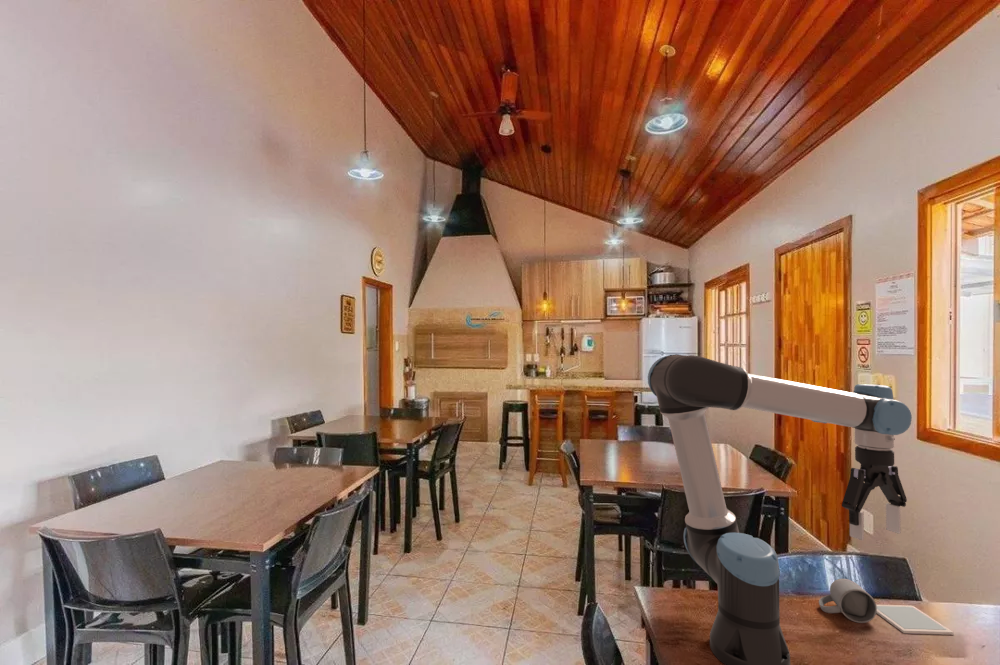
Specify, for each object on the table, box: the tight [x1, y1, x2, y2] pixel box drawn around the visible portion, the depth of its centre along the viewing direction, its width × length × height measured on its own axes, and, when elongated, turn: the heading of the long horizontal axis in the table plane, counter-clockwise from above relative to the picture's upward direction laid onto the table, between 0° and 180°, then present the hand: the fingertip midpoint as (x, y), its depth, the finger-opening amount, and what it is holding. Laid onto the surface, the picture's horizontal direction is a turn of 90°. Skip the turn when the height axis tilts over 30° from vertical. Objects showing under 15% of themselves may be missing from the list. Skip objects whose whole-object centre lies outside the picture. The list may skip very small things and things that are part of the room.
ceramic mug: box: [818, 578, 877, 624], centre depth 115 cm, size 11×8×8 cm
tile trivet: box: [876, 604, 954, 636], centre depth 111 cm, size 11×11×1 cm
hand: (875, 534), depth 113 cm, fingers open, 13 cm apart
